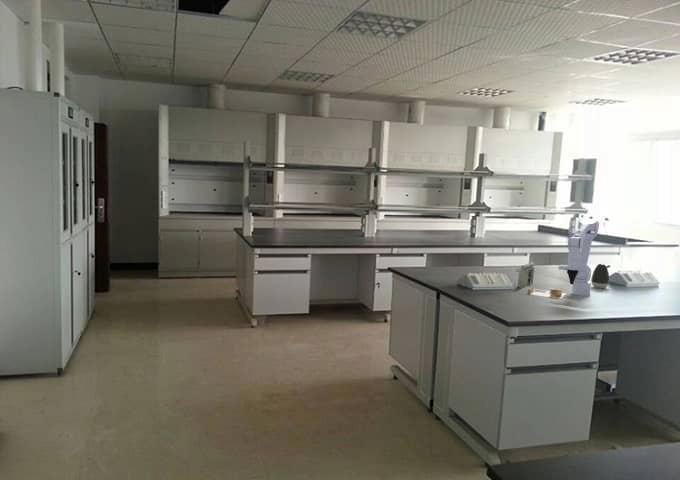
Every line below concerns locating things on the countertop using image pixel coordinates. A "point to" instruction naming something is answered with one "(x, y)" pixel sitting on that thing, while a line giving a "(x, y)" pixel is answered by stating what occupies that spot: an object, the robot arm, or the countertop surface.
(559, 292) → the block
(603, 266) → the potted cactus
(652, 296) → the countertop surface
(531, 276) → the geiger counter
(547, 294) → the trap board
